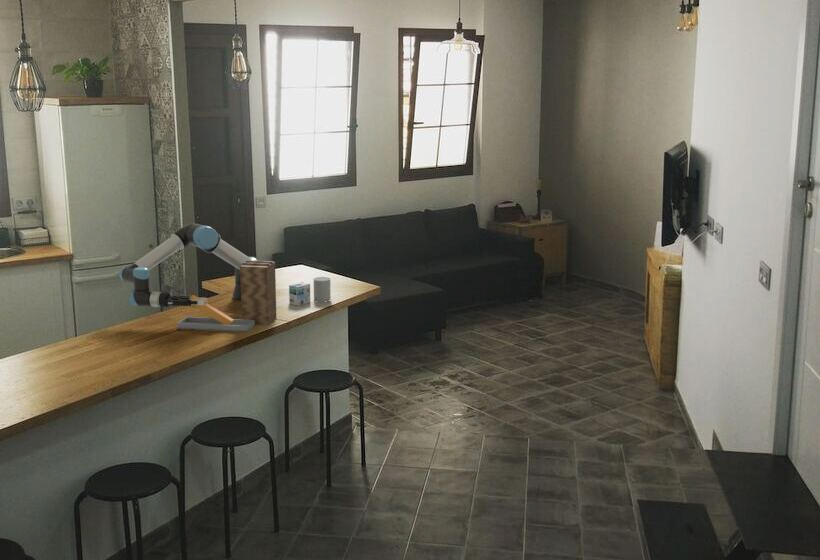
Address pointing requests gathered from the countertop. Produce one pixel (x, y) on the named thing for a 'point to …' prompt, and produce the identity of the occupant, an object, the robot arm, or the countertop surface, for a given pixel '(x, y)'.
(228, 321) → the pin
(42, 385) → the countertop surface
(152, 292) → the robot arm
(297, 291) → the light bulb box
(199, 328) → the tray
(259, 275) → the brown zigzag tall box
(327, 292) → the grey cylinder
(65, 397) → the countertop surface
